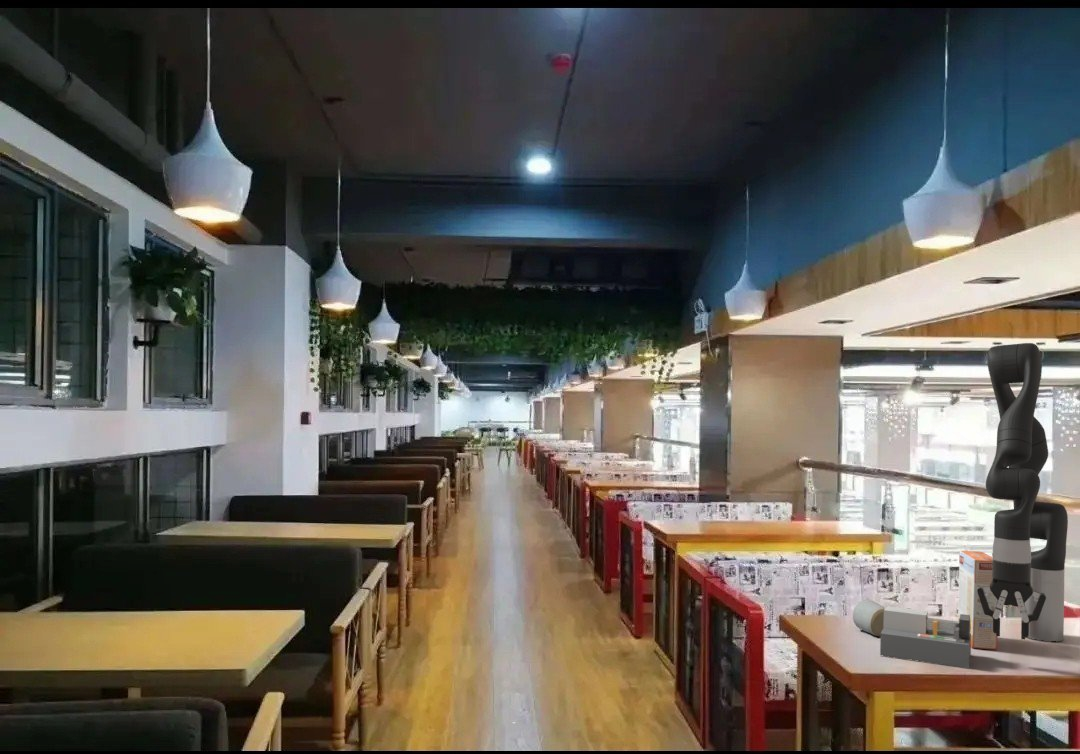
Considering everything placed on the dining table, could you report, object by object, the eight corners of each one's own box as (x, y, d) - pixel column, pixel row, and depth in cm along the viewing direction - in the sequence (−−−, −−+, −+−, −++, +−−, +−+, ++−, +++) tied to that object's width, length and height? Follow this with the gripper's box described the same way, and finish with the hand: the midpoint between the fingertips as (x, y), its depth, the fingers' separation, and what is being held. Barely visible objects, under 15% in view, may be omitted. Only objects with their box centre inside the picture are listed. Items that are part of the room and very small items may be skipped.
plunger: (917, 626, 213) (917, 608, 213) (969, 632, 208) (970, 615, 208) (913, 634, 205) (914, 616, 205) (968, 642, 200) (968, 623, 200)
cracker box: (999, 651, 213) (1000, 560, 214) (971, 649, 214) (972, 559, 215) (983, 635, 227) (984, 550, 227) (956, 633, 228) (958, 549, 229)
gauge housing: (886, 643, 217) (887, 604, 218) (970, 654, 209) (971, 614, 209) (880, 655, 207) (880, 614, 207) (968, 668, 199) (969, 625, 199)
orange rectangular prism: (933, 634, 205) (933, 620, 205) (937, 634, 205) (937, 621, 205) (932, 635, 204) (933, 621, 204) (936, 636, 204) (937, 622, 204)
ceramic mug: (871, 638, 222) (872, 606, 222) (851, 630, 229) (852, 599, 230) (909, 637, 224) (910, 606, 224) (888, 629, 232) (889, 598, 232)
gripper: (1048, 559, 202) (1047, 638, 202) (976, 553, 209) (975, 628, 208) (1049, 565, 195) (1048, 645, 195) (975, 558, 202) (973, 636, 202)
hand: (1010, 636), depth 202 cm, fingers open, 4 cm apart
